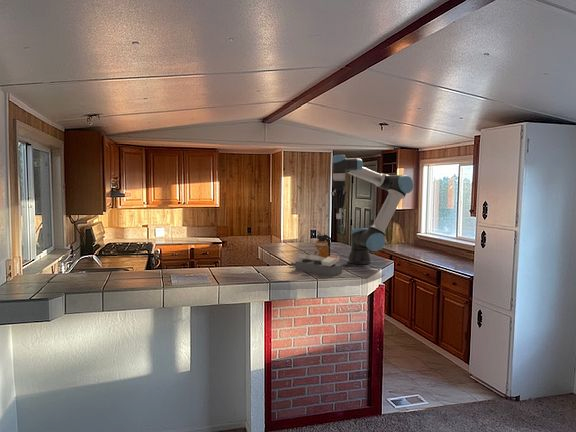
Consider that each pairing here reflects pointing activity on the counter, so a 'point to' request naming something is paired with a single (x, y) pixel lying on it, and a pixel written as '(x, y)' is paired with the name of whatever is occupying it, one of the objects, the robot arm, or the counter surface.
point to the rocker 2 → (317, 258)
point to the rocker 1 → (304, 256)
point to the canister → (322, 246)
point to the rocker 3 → (330, 260)
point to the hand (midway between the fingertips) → (338, 218)
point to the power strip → (317, 267)
